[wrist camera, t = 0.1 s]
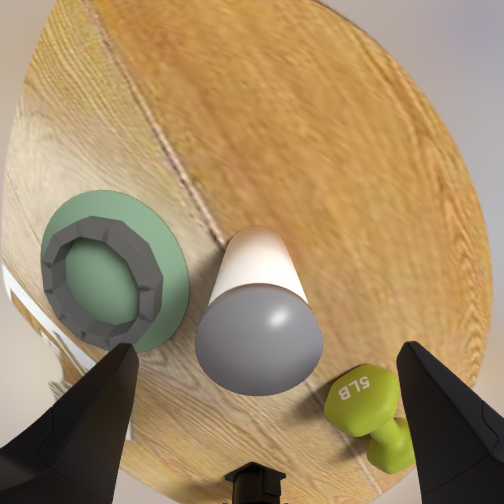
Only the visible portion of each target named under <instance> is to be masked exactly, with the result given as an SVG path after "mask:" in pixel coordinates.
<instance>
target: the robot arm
mask: <svg viewBox="0 0 504 504" xmlns="http://www.w3.org/2000/svg"><path fill="white" fill-rule="evenodd" d="M396 364H397V370H398V376H399V382H400V389H401V396H402V401H403V406H404V410H405V414H406V418H407V422H408V427H409V431H410V436H411V440H412V445H413V450H414V455H415V460H416V466H417V471H418V477H419V483H420V490H421V498H422V504H504V418H503V417H502V416H501V415H499V414H498V413H497V412H496V411H495V410H494V409H492V408H491V407H490V406H489V405H488V404H487V403H486V402H485V401H483V400H482V399H481V398H480V397H479V396H478V395H477V394H476V393H475V392H474V391H473V390H471V389H470V388H469V387H468V386H467V385H466V384H465V383H464V382H463V381H461V380H460V379H459V378H458V377H457V376H456V375H455V374H454V373H452V372H451V371H450V370H449V369H448V368H447V367H446V366H445V365H443V364H442V363H441V362H440V361H439V360H438V359H437V358H435V357H434V356H433V355H432V354H431V353H430V352H428V351H427V350H426V349H425V348H424V347H423V346H421V345H420V344H419V343H418V342H416V341H408V342H405V343H404V344H403V346H402V348H401V350H400V352H399V354H398V356H397V360H396ZM138 368H139V359H138V356H137V354H136V351H135V349H134V346H133V345H132V344H131V343H126V342H120V343H119V344H117V345H116V346H115V347H114V348H113V349H112V350H111V351H110V352H109V353H108V354H107V355H105V356H104V357H103V358H102V359H101V360H100V361H99V362H98V363H97V364H96V365H95V366H94V367H93V368H92V369H90V370H89V371H88V372H87V373H86V374H85V375H84V376H83V377H82V378H81V379H80V380H79V381H78V382H77V383H76V384H74V385H73V386H72V387H71V388H70V389H69V390H68V391H67V392H66V393H65V394H64V395H63V396H62V397H61V398H60V399H59V400H58V401H57V402H56V403H55V404H53V406H52V407H50V408H49V409H48V410H47V411H46V412H45V413H44V414H43V415H42V416H41V417H40V418H39V419H37V420H36V421H35V422H34V423H33V424H32V425H31V426H29V427H28V428H27V429H26V430H24V431H23V432H22V433H20V434H19V435H18V436H17V437H15V438H14V439H13V440H11V441H10V442H9V443H8V444H6V445H5V446H3V447H2V448H0V504H112V501H113V496H114V490H115V484H116V479H117V473H118V469H119V464H120V459H121V455H122V450H123V445H124V441H125V437H126V432H127V428H128V424H129V420H130V416H131V412H132V407H133V402H134V396H135V388H136V381H137V374H138ZM284 478H286V474H284V473H281V472H278V471H276V470H273V469H270V468H268V467H265V466H262V465H260V464H257V463H254V462H253V463H250V464H248V465H246V466H244V467H242V468H240V469H238V470H236V471H234V472H232V473H230V474H228V475H226V476H225V480H227V481H230V482H233V494H232V504H280V496H281V485H280V480H282V479H284ZM223 504H226V503H223ZM285 504H288V503H285Z"/></svg>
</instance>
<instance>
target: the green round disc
mask: <svg viewBox="0 0 504 504" xmlns="http://www.w3.org/2000/svg"><path fill="white" fill-rule="evenodd" d="M41 270H42V276H43V286H44V292H45V295H46V297H47V299H48V301H49V303H50V305H51V306H52V308H53V310H54V312H55V314H56V316H57V318H58V320H59V321H60V322H61V323H62V324H63V325H65V326H66V327H67V328H68V329H69V330H70V331H71V332H72V333H74V334H75V335H76V336H77V337H78V338H79V339H81V340H82V341H84V342H87V343H90V344H93V345H96V346H98V347H100V348H103V349H105V350H108V351H111V350H112V349H113V348H114V347H115V346H116V345H117V344H119V343H120V342H126V343H131V344H132V345H133V346H134V349H135V351H136V353H141V352H145V351H148V350H152V349H154V348H156V347H158V346H160V345H161V344H163V343H164V342H165V341H167V340H168V339H169V338H170V337H171V336H172V335H173V334H174V332H175V331H176V330H177V328H178V327H179V325H180V323H181V321H182V319H183V317H184V314H185V311H186V308H187V304H188V299H189V276H188V270H187V266H186V261H185V259H184V256H183V253H182V250H181V248H180V246H179V244H178V242H177V240H176V238H175V236H174V235H173V233H172V232H171V230H170V229H169V227H168V226H167V225H166V224H165V223H164V221H163V220H162V219H161V218H160V217H159V216H158V215H157V214H156V213H155V212H154V211H153V210H152V209H150V208H149V207H148V206H146V205H145V204H144V203H142V202H140V201H139V200H137V199H135V198H133V197H131V196H128V195H126V194H123V193H120V192H115V191H108V190H97V191H89V192H86V193H82V194H79V195H77V196H75V197H73V198H71V199H69V200H68V201H67V202H65V203H64V204H63V205H62V206H61V207H60V208H59V209H58V210H57V211H56V212H55V214H54V215H53V216H52V218H51V219H50V221H49V223H48V225H47V227H46V230H45V233H44V236H43V240H42V245H41Z"/></svg>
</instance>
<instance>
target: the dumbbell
mask: <svg viewBox="0 0 504 504" xmlns="http://www.w3.org/2000/svg"><path fill="white" fill-rule="evenodd" d="M399 389H400V388H399V382H398V379H397V378H396V376H395V375H394V374H393V373H392V372H391V371H389V370H386V369H384V368H381V367H378V366H375V365H372V364H364V365H361V366H359V367H357V368H355V369H353V370H352V371H350V372H348V373H347V374H345V375H343V376H342V377H340V378H339V379H337V380H336V381H335V382H334V383H333V385H332V387H331V389H330V391H329V394H328V397H327V400H326V403H325V406H324V416H325V417H326V419H327V420H328V421H329V422H330V423H331V424H333V425H334V426H335V427H336V428H338V429H339V430H341V431H343V432H344V433H346V434H348V435H350V436H353V437H361V436H364V435H366V434H368V433H369V434H370V435H371V439H370V442H369V446H368V450H367V459H368V461H369V462H370V463H371V464H372V465H374V466H375V467H377V468H378V469H380V470H382V471H383V472H386V473H388V474H394V473H397V472H399V471H401V470H403V469H405V468H407V467H409V466H410V465H412V464H414V463H415V462H416V460H415V455H414V450H413V445H412V440H411V436H410V431H409V427H408V422H407V420H406V419H403V418H397V419H394V418H393V416H394V415H395V412H396V409H397V404H398V399H399Z"/></svg>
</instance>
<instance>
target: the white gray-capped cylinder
mask: <svg viewBox="0 0 504 504" xmlns="http://www.w3.org/2000/svg"><path fill="white" fill-rule="evenodd" d="M322 347H323V339H322V334H321V330H320V328H319V325H318V322H317V320H316V317H315V315H314V312H313V311H312V309H311V307H310V306H309V305H308V302H307V300H306V297H305V294H304V292H303V289H302V286H301V284H300V281H299V279H298V276H297V273H296V271H295V268H294V266H293V263H292V260H291V258H290V255H289V253H288V250H287V248H286V245H285V243H284V241H283V239H282V238H281V237H280V236H279V235H278V234H277V233H276V232H274V231H273V230H271V229H269V228H266V227H261V226H252V227H248V228H245V229H242V230H241V231H239V232H238V233H236V234H235V235H234V236H233V237H232V239H231V240H230V242H229V243H228V246H227V249H226V252H225V255H224V258H223V261H222V264H221V267H220V270H219V273H218V276H217V279H216V282H215V285H214V288H213V291H212V295H211V298H210V301H209V304H208V307H207V309H206V310H205V312H204V314H203V316H202V319H201V321H200V324H199V327H198V331H197V334H196V339H195V351H196V356H197V359H198V361H199V364H200V366H201V367H202V369H203V370H204V372H205V373H206V374H207V375H208V376H209V378H211V379H212V380H213V381H214V382H215V383H217V384H218V385H220V386H221V387H223V388H225V389H227V390H230V391H232V392H235V393H238V394H242V395H248V396H268V395H274V394H278V393H281V392H284V391H287V390H289V389H291V388H293V387H295V386H297V385H298V384H300V383H301V382H303V381H304V380H305V379H306V378H307V377H308V376H309V375H310V374H311V373H312V372H313V370H314V369H315V367H316V366H317V364H318V362H319V360H320V357H321V353H322Z"/></svg>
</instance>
